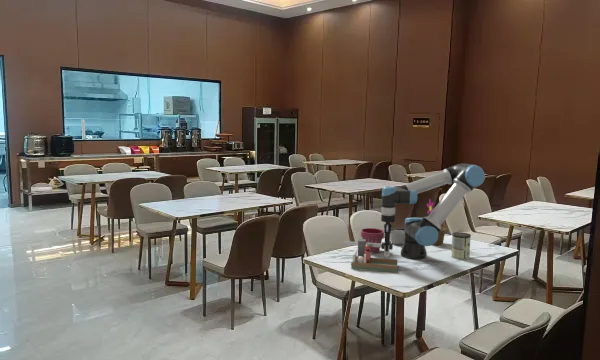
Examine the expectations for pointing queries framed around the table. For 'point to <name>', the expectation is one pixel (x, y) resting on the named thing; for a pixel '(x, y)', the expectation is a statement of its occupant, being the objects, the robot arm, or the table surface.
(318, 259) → the table surface
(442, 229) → the flowerpot
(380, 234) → the plant pot
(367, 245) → the slider
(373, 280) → the table surface
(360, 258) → the ball
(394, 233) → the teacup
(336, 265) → the table surface
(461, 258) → the coffee can
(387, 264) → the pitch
